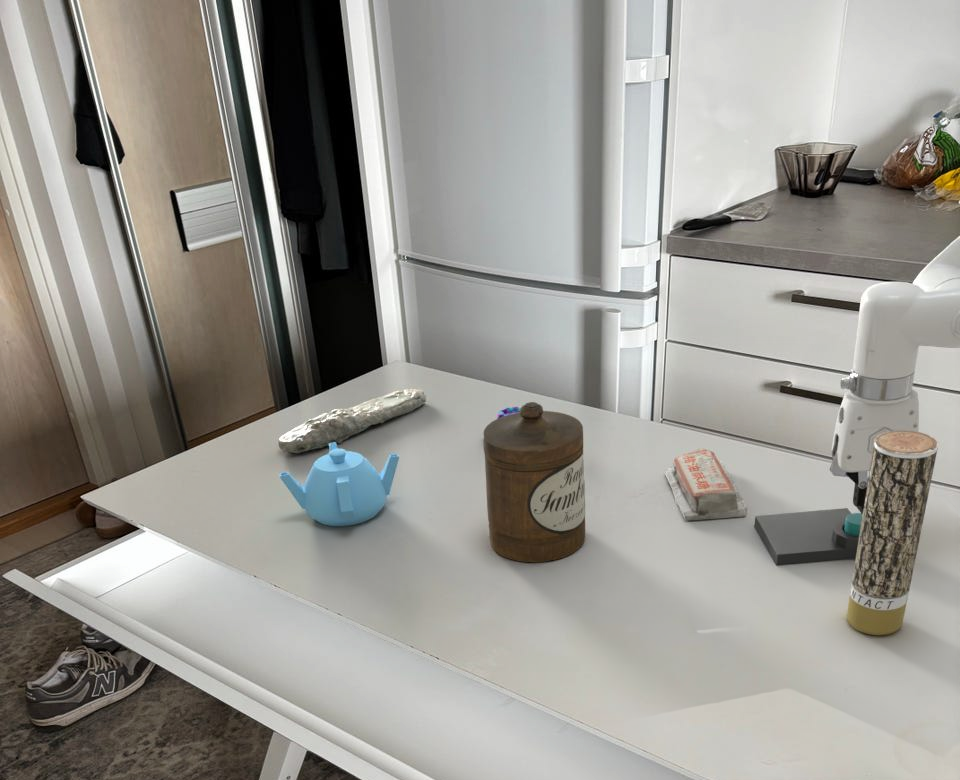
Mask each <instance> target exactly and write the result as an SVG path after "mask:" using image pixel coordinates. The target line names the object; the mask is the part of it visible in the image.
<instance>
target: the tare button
mask: <svg viewBox="0 0 960 780" xmlns="http://www.w3.org/2000/svg"><path fill="white" fill-rule="evenodd" d="M862 516H863V514H862V513H861V512H851V514H849V515H848V516H847V517H846V521H845V528H844V531H845V533H847V534H849V535H853V536H859V534H860V528H861V522H862Z"/></svg>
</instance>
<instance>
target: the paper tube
mask: <svg viewBox="0 0 960 780" xmlns="http://www.w3.org/2000/svg"><path fill="white" fill-rule="evenodd" d="M938 446H939V442H938V440H937V439H936V438H935V437H933V436H931V435H929V434H926V433H922V432H919V431H918V432H915V431H905V430H898V431H889V432H885V433H882V434H880V435H878V436H877V437H876V438H875V442H874V447H873V453H872V460H871V466H870V471H868V477H869V478H868V485H867V491H866V497H865V503H864V509H863V516H862V522H861V528H860V534H859V541H858V547H857V553H856V559H854V565H853V566H854V567H853V574H852V577H851V578H852V579H851V584H850V591H849V597H848V600H849V601H848V604H847V610H846V611H847V612H846V620H847V622H848V624H849V625H850V626H851V627H852V628H853V629H855V630H856V631H858V632H861V633H863V634H866V635H871V636H887V635H890V634H893V633H895V632H897V631H898V630H899V629H901V627H902V625H903V623H904V618H905V614H906V613H905V612H906V608H907V602H908V598H909V593H910V588H911V584H912V580H913V579H912V578H913V575H914V574H913V573H914V568H915V564H916V559H917V554H918V553H917V552H918V549H919V544H920V539H921V534H922V528H923V524H924V519H925V514H926V508H927V504H928V500H929V499H928V498H929V494H930V488H931V485H932V484H931V483H932V479H933V474H934V469H935V463H936V459H937V455H938V454H937V453H938V450H939V449H938Z"/></svg>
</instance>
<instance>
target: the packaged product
mask: <svg viewBox="0 0 960 780" xmlns="http://www.w3.org/2000/svg"><path fill="white" fill-rule="evenodd" d="M672 465H673V466H671V467H669V468H667V467H664V468H663V469H664V470H663V471H664V475H665V477H666V479H667V482H668V484H669V485H670V488H671V491H672V493H673V496H674V501H675V504H676V505H678V507H679V510H680V513H681V514H682V516H683V518H684V520H685V521H701V520H703V521H704V520H716V519H717V520H718V519H729V518H741V517H747V513H748V506H747V505H746V503H745V500H744V499H743V497H742V496H741V494H740V491H739V489H738V488H737V486H736V485H735V482H734V480H733V478H732V477H731V476H730V473H729V471H728V469H727V467H726V465H725V464H724V462H723V460H719V459H718V458H717V456H716V454H715V452H714V451H713V450H708V449H706V448H700V449H699V448H698V449H696V450H694V451H690V452H687V453H684V454H681V455H678V456H676V457H675V458H674V460H673V462H672Z"/></svg>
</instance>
